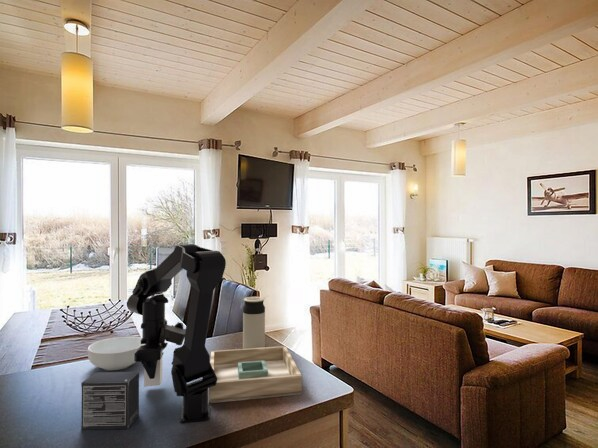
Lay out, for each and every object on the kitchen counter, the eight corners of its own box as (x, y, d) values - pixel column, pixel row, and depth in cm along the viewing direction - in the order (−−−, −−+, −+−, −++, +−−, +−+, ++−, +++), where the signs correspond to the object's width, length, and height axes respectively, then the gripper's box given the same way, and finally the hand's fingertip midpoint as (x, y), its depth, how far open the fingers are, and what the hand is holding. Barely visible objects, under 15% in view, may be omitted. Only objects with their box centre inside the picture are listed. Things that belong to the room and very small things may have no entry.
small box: (140, 414, 87) (140, 370, 87) (128, 429, 80) (128, 382, 80) (95, 414, 86) (95, 370, 86) (79, 430, 80) (80, 382, 80)
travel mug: (248, 353, 128) (249, 301, 128) (239, 346, 134) (239, 297, 134) (268, 348, 132) (268, 299, 132) (258, 342, 139) (258, 295, 139)
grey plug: (160, 385, 98) (160, 355, 98) (144, 386, 97) (144, 356, 97) (162, 379, 102) (162, 350, 102) (147, 380, 101) (147, 351, 101)
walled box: (301, 394, 97) (301, 375, 97) (209, 403, 92) (209, 383, 92) (285, 360, 120) (285, 345, 120) (210, 366, 115) (211, 350, 115)
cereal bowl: (131, 377, 107) (132, 353, 107) (75, 377, 107) (75, 353, 107) (154, 356, 124) (154, 335, 124) (105, 356, 124) (105, 335, 124)
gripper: (181, 326, 92) (181, 387, 92) (187, 309, 110) (187, 360, 110) (133, 328, 90) (133, 391, 90) (148, 310, 108) (147, 363, 108)
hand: (153, 375), depth 99 cm, fingers closed on grey plug, 4 cm apart
